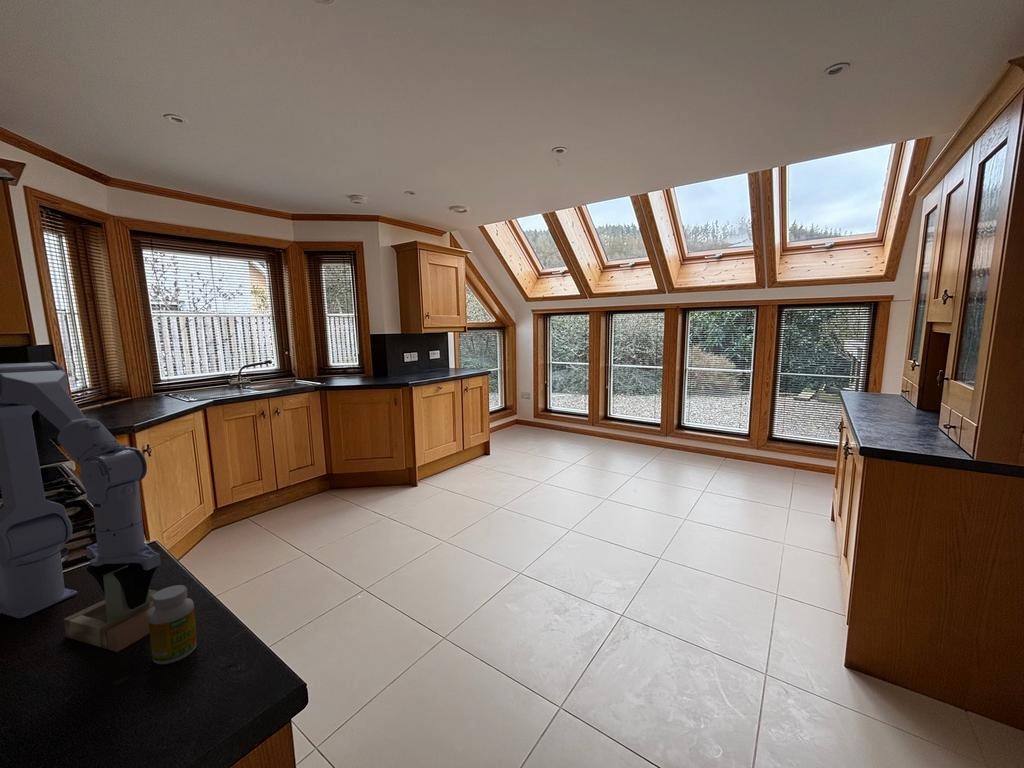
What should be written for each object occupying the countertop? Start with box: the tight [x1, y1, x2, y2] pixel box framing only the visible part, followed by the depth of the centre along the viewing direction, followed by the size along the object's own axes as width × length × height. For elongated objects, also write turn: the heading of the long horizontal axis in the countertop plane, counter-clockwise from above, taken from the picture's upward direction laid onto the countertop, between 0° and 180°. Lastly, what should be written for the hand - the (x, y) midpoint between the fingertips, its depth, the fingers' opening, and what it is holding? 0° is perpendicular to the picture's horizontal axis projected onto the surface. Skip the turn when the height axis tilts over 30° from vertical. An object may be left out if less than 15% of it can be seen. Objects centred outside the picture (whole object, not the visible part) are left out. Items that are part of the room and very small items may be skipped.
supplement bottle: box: [149, 584, 198, 665], centre depth 65 cm, size 5×5×10 cm
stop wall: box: [107, 606, 155, 653], centre depth 71 cm, size 2×10×3 cm, turn 163°
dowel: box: [103, 565, 150, 623], centre depth 72 cm, size 4×4×8 cm
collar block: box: [63, 588, 159, 650], centre depth 73 cm, size 10×10×3 cm
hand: (127, 603), depth 72 cm, fingers open, 4 cm apart
